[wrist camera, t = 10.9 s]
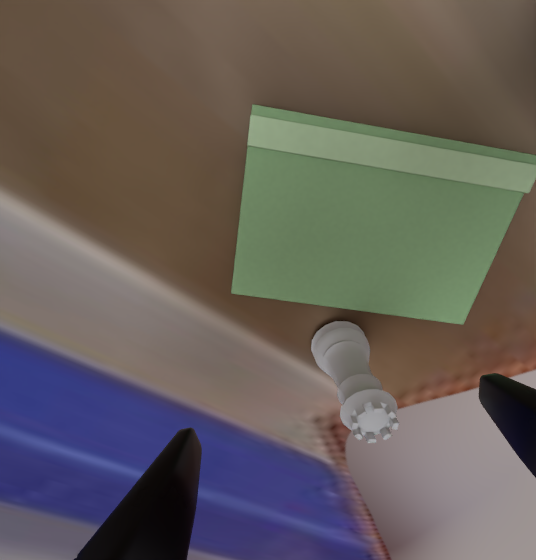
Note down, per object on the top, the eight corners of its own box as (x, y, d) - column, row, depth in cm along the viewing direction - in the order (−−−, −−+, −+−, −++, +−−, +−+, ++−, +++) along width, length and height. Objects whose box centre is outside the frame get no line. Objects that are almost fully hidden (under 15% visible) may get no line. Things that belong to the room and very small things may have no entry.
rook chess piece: (303, 359, 22) (323, 449, 15) (318, 313, 21) (348, 387, 13) (354, 368, 23) (398, 460, 15) (372, 323, 21) (431, 401, 14)
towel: (530, 156, 17) (547, 155, 16) (456, 319, 21) (466, 327, 20) (252, 107, 16) (251, 102, 15) (232, 289, 20) (230, 295, 19)
